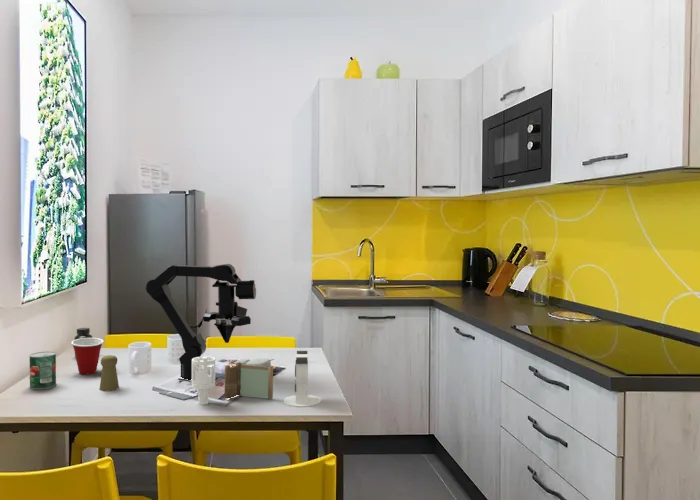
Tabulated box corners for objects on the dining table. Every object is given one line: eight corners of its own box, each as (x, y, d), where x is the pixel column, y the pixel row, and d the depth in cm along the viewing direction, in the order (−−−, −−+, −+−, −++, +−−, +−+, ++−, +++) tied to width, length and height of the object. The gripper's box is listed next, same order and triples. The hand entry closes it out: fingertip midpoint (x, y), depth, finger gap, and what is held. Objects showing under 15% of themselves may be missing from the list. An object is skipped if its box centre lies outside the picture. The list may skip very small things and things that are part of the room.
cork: (114, 384, 194) (114, 352, 194) (121, 388, 190) (121, 356, 190) (96, 388, 190) (96, 355, 190) (103, 392, 186) (103, 358, 185)
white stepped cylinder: (193, 407, 171) (193, 358, 170) (190, 401, 177) (190, 353, 177) (217, 405, 174) (217, 356, 173) (212, 398, 180) (213, 352, 180)
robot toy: (224, 375, 212) (260, 376, 206) (224, 363, 212) (259, 364, 206) (242, 367, 223) (276, 368, 218) (241, 356, 223) (275, 357, 218)
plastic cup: (76, 378, 202) (76, 344, 201) (67, 372, 210) (67, 340, 209) (108, 373, 209) (107, 341, 208) (98, 367, 217) (98, 336, 216)
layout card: (159, 393, 185) (159, 392, 185) (181, 387, 192) (181, 385, 192) (183, 400, 178) (183, 398, 178) (205, 393, 186) (205, 392, 186)
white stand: (284, 395, 185) (285, 349, 184) (319, 395, 186) (320, 349, 185) (283, 407, 173) (283, 358, 172) (320, 406, 174) (320, 358, 173)
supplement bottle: (87, 354, 237) (87, 326, 237) (96, 357, 233) (96, 328, 233) (71, 357, 232) (70, 328, 231) (80, 360, 228) (79, 330, 227)
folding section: (242, 394, 184) (242, 363, 184) (273, 397, 181) (273, 366, 181) (240, 395, 182) (240, 365, 182) (271, 398, 180) (271, 367, 179)
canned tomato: (24, 388, 189) (23, 355, 189) (44, 381, 197) (43, 350, 196) (42, 390, 187) (41, 357, 186) (61, 384, 194) (61, 352, 193)
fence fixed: (223, 399, 179) (223, 366, 179) (238, 394, 185) (238, 361, 184) (227, 400, 178) (227, 366, 178) (242, 395, 184) (242, 362, 183)
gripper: (261, 298, 204) (261, 341, 204) (225, 295, 214) (225, 336, 215) (238, 302, 194) (239, 347, 195) (202, 298, 205) (202, 341, 206)
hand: (226, 342), depth 203 cm, fingers closed
